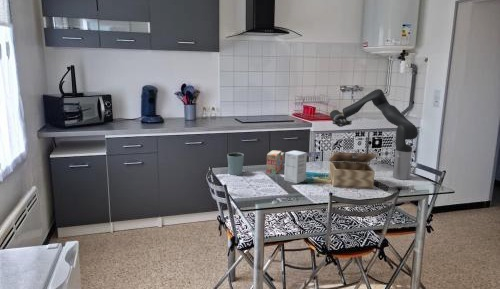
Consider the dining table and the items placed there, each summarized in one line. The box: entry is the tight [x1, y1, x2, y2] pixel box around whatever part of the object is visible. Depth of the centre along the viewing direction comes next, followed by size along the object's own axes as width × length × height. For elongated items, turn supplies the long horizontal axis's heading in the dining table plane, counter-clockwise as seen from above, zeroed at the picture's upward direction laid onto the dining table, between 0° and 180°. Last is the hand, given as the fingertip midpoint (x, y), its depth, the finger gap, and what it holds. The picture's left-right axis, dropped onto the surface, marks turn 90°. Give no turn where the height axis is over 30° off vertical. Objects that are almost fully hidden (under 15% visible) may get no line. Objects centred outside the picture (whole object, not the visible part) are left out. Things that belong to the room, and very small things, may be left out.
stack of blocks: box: [265, 149, 285, 175], centre depth 243 cm, size 21×6×12 cm, turn 161°
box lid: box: [328, 151, 377, 164], centre depth 218 cm, size 23×20×3 cm
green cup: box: [227, 152, 245, 176], centre depth 231 cm, size 10×10×12 cm
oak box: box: [328, 161, 375, 190], centre depth 220 cm, size 22×18×10 cm
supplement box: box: [283, 150, 308, 184], centre depth 221 cm, size 10×9×17 cm
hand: (344, 124), depth 241 cm, fingers closed
